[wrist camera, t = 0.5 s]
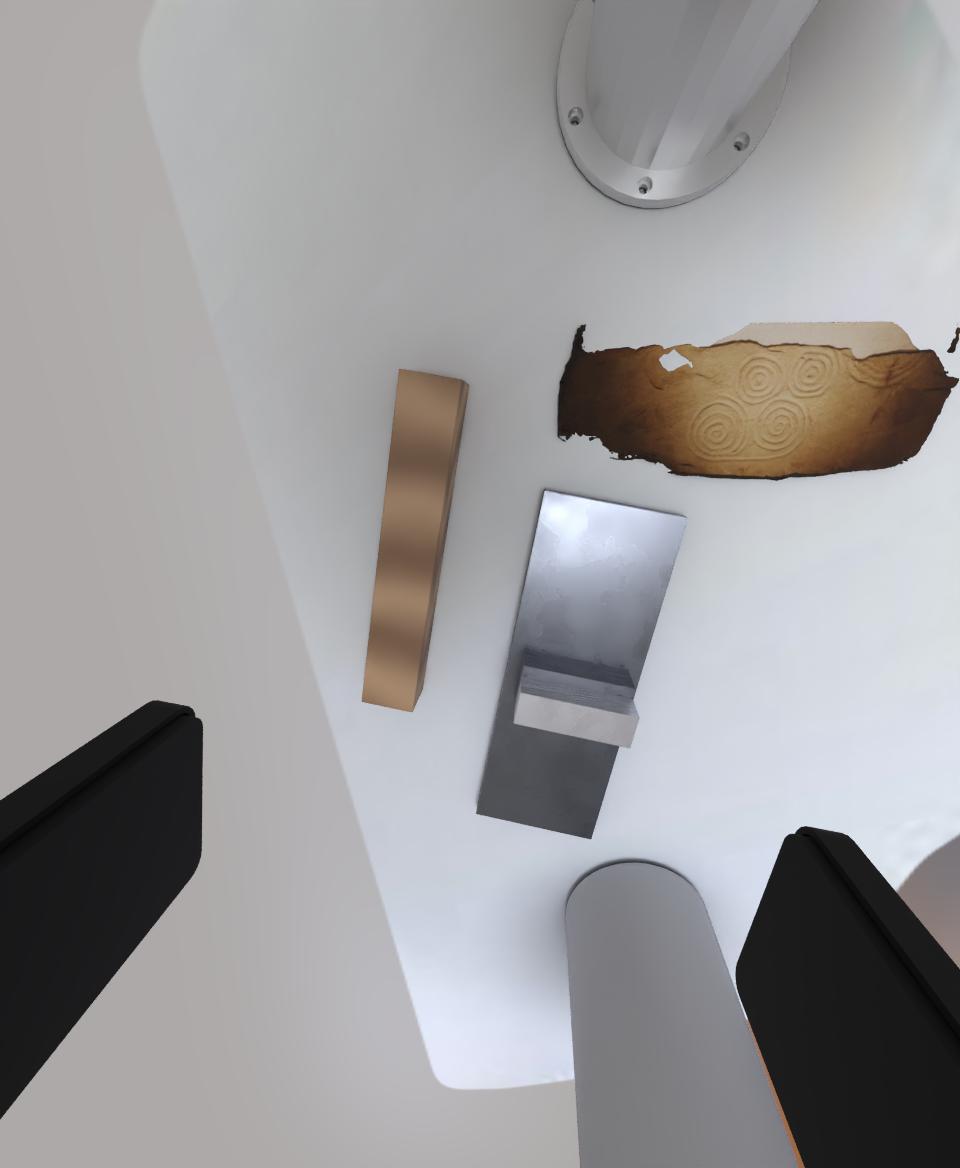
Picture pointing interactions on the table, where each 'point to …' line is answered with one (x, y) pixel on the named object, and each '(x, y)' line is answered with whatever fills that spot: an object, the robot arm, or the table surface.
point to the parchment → (762, 401)
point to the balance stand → (577, 659)
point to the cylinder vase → (661, 1032)
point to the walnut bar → (413, 535)
